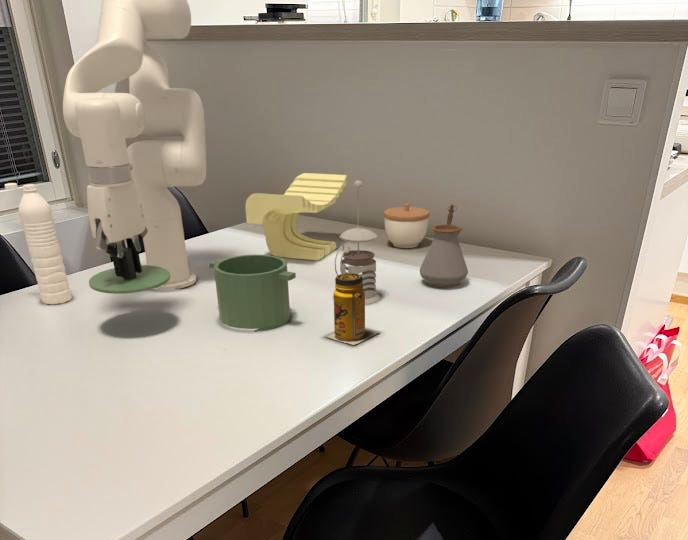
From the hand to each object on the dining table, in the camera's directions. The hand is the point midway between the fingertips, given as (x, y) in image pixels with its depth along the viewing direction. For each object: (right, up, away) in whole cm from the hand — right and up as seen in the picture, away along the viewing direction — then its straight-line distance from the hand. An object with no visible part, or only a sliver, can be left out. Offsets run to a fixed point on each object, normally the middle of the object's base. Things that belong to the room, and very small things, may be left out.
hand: (129, 273), depth 134 cm
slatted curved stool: (+31, +21, +54) cm, 66 cm away
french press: (+45, 0, +20) cm, 49 cm away
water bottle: (-25, 0, +22) cm, 33 cm away
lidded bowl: (+60, +24, +59) cm, 87 cm away
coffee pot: (+67, +8, +33) cm, 75 cm away
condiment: (+44, -12, +1) cm, 46 cm away
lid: (0, -1, +1) cm, 1 cm away
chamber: (+24, -7, +10) cm, 27 cm away
